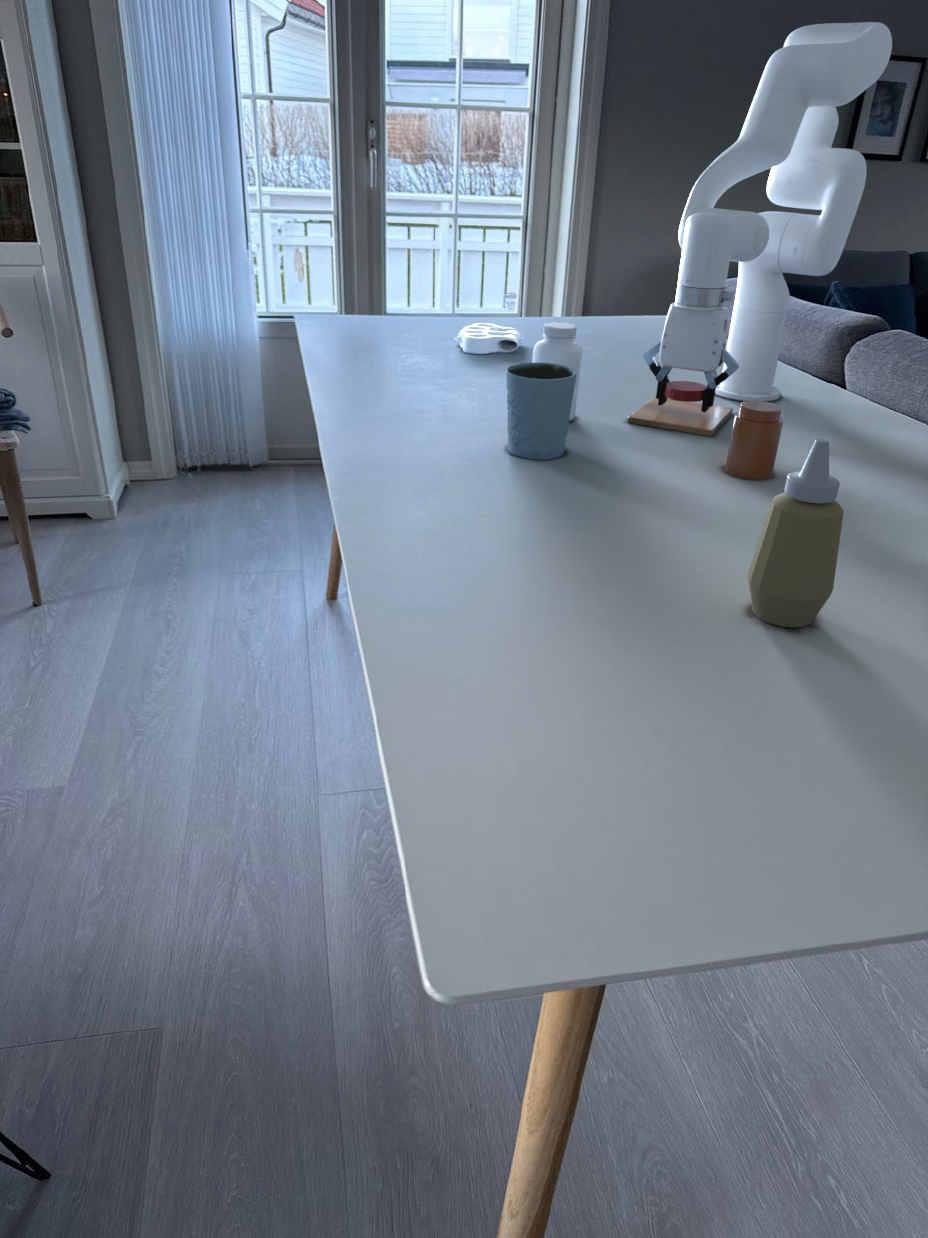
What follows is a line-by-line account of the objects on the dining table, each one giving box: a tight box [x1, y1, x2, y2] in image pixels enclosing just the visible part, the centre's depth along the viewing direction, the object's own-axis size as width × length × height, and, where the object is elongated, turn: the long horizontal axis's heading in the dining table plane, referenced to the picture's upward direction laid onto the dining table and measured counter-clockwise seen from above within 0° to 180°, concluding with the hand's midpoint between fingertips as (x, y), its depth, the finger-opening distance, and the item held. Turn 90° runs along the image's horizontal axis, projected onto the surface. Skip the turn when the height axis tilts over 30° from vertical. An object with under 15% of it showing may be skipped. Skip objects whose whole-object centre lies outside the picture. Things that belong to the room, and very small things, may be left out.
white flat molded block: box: [453, 322, 524, 355], centre depth 201 cm, size 3×18×15 cm
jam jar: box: [724, 401, 784, 481], centre depth 128 cm, size 7×7×10 cm
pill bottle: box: [531, 321, 583, 422], centre depth 148 cm, size 8×8×15 cm
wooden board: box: [627, 396, 734, 437], centre depth 154 cm, size 16×14×1 cm
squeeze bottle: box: [746, 438, 845, 628], centre depth 86 cm, size 8×8×18 cm
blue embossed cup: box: [505, 362, 577, 460], centre depth 132 cm, size 10×10×12 cm
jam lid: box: [664, 380, 707, 403], centre depth 152 cm, size 7×7×2 cm
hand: (683, 406), depth 153 cm, fingers closed on jam lid, 6 cm apart
